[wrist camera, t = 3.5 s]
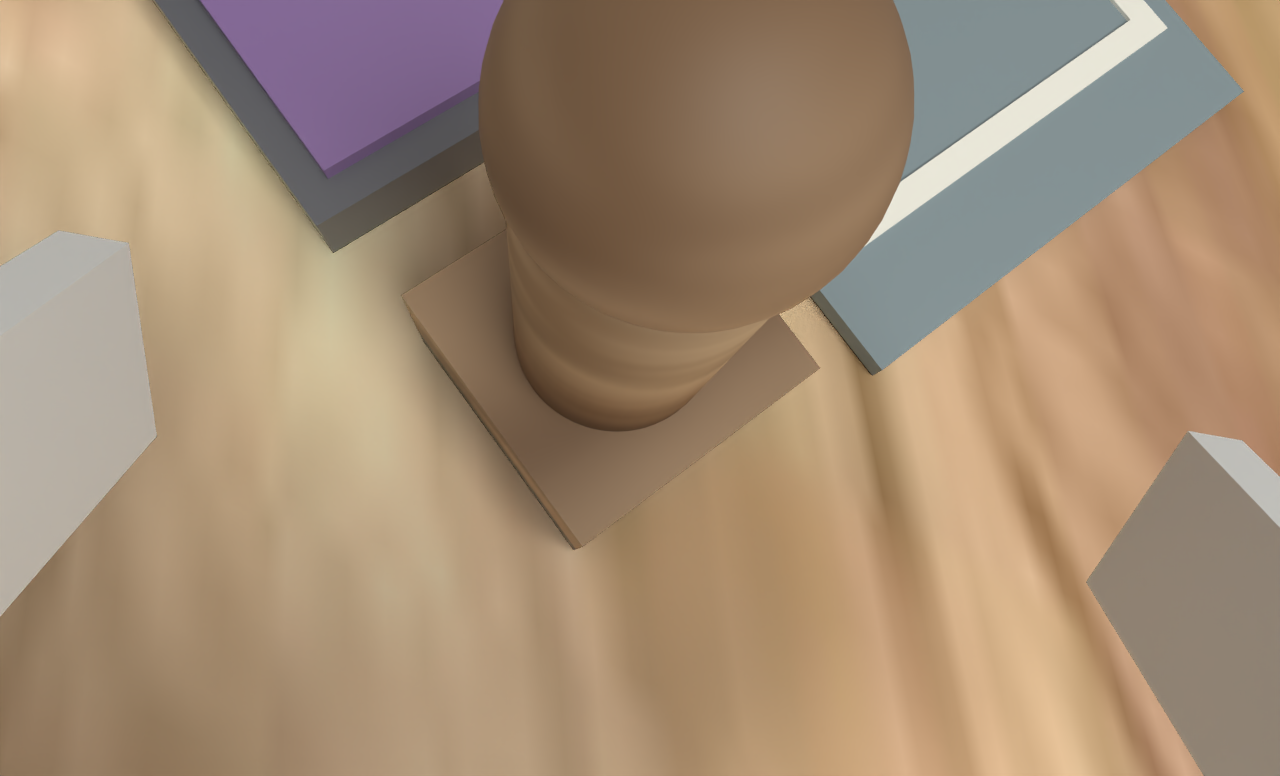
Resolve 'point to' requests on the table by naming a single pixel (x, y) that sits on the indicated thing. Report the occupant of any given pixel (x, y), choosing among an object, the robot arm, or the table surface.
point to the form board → (1014, 147)
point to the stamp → (660, 227)
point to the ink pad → (348, 95)
